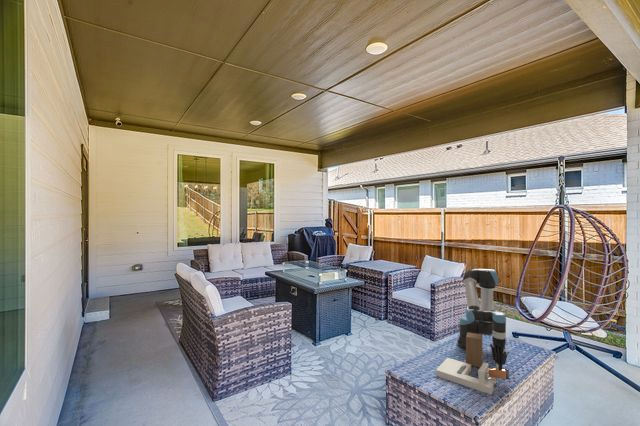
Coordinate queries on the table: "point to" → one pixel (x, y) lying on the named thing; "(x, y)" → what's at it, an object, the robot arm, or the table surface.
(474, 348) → the wooden block
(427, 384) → the table surface
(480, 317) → the robot arm
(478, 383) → the stand
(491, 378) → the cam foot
